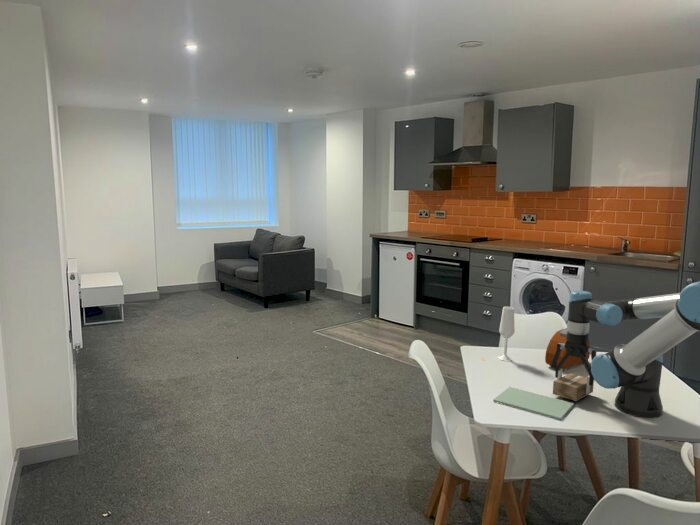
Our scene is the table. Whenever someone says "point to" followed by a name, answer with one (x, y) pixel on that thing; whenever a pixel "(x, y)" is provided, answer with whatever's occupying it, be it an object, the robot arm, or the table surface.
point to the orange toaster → (562, 351)
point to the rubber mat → (534, 403)
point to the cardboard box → (571, 387)
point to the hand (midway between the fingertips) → (573, 389)
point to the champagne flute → (507, 328)
